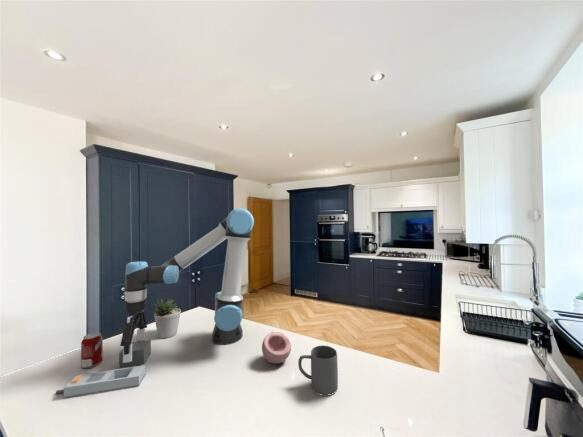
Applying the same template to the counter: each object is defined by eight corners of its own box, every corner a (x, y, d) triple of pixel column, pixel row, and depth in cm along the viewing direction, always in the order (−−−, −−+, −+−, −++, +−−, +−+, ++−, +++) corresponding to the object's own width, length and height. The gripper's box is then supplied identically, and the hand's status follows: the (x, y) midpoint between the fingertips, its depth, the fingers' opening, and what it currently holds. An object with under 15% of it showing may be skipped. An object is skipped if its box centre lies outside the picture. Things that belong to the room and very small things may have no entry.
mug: (337, 379, 85) (336, 346, 86) (338, 398, 76) (337, 360, 77) (300, 376, 87) (299, 343, 88) (296, 393, 78) (296, 357, 79)
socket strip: (145, 374, 90) (145, 363, 90) (138, 386, 84) (138, 374, 84) (63, 387, 84) (63, 375, 84) (48, 401, 77) (49, 388, 77)
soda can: (90, 370, 93) (90, 339, 94) (76, 368, 95) (76, 338, 95) (106, 360, 100) (106, 332, 100) (93, 359, 101) (93, 331, 102)
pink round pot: (273, 374, 89) (273, 343, 89) (256, 361, 98) (256, 333, 98) (297, 361, 97) (296, 333, 97) (279, 350, 106) (278, 324, 106)
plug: (150, 358, 101) (150, 339, 101) (143, 370, 93) (143, 349, 93) (127, 361, 99) (128, 342, 99) (118, 373, 91) (118, 352, 91)
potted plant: (158, 330, 129) (158, 293, 130) (184, 328, 130) (184, 292, 131) (146, 341, 116) (146, 300, 117) (175, 339, 118) (175, 299, 119)
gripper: (137, 292, 108) (135, 339, 107) (110, 311, 84) (108, 372, 83) (155, 291, 110) (154, 337, 109) (134, 309, 86) (132, 368, 85)
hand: (134, 352), depth 96 cm, fingers open, 13 cm apart
